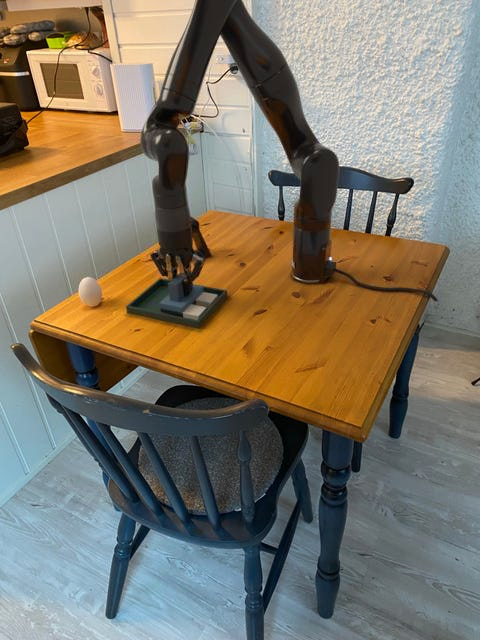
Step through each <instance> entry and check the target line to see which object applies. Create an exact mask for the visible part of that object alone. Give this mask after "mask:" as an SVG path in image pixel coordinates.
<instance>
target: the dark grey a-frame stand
mask: <svg viewBox="0 0 480 640" xmlns="http://www.w3.org/2000/svg"><path fill="white" fill-rule="evenodd" d="M190 217H191V227H192V237H193V243H194V245H195V247H196V249H194V251H195V254H196V255H197V256H199V257H200V258H201V257H205V259H208V258H211V257H212V253H211V252H210V251H211V250H210V249H209V247H208V244H207V243H206V240H205V239H204V236H203V234H202V231H201V229H200V221H199V220H197V219H196V218H194V217H193V216H192V215H190ZM191 261H193V259H192V260H191Z"/></svg>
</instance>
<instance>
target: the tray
mask: <svg viewBox="0 0 480 640" xmlns="http://www.w3.org/2000/svg"><path fill="white" fill-rule="evenodd" d="M169 282H170V280H169V279H168V278H163V277H159V278H158V279H157V280H156V281H155V282H153V283H152V284H151V285H149V287H147V288H146V289H145V290H144V291H142V292H141V293H140V294H139V295H138V296H136V297H135V298H134V299H132V301H130V302H129V303H127V304H126V305H125V309H126V314H129V315H134V316H138V317H143V318H147V319H153V320H156V321H161V322H164V323H170V324H173V325H177V326H183V327H186V328H187V327H188V328H191V329H196V330H200V329H201V328H202V327H203V326H204V324H205V323H206V322H207V321H208V320H209V319H210V318H211V316H212V315H213V314H214V313H215V312H216V311H217V310H218V309H219V307H220V306H221V305H222V304H223V303H224V302H225V300H227V298H228V295H229V294H228V290H227V289H222V288H217V287H212V286H206V285H200V284H198V285H199V286H203V289H204V292H206V293H211V294H216V295H218V298H217V299H216V301H215V302H214V303H213V304H212V305H211V306H210V307H209V308H206V309H207V310H206V311H205V313H204V314H203V315H202V316H201V317H200V318H199V319H198V320H193V319H188V318H183V317H182V316H178V315H173V314H168V313H163V312H161V310H160V302H161V301H162V300H163V299H164V298H165V297H166V296H168V295H169V289H168V283H169ZM193 285H197V284H195V283H193ZM195 305H196V304H195Z"/></svg>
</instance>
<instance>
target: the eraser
mask: <svg viewBox="0 0 480 640" xmlns="http://www.w3.org/2000/svg"><path fill="white" fill-rule="evenodd" d="M193 282H194V281H193ZM193 282H192V292H191V293H190V294H189V295H188V296H184V291H183V279H182V275H181V274H180V272H179V273H178V275H177V276H176V277H175V278H173V279H172V280H171V281H170V282H169V283H168V289H169V295H168V296H166V297H165V298H164V299H163V300H162V301H161V302H160V310H161V312H163V313H168V314H173V315H178V316H182V317H183V312H184V311H185V310H186V309H187V308H188V307H189V306H190V305H191V304H193V305H195V304H196V299H197V298H198V297H199V296H200V295H201V294H202V293H203V292H204V289H203V286H204V285H201V286H199V285H200V284H196V285H193V284H194V283H193Z"/></svg>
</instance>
